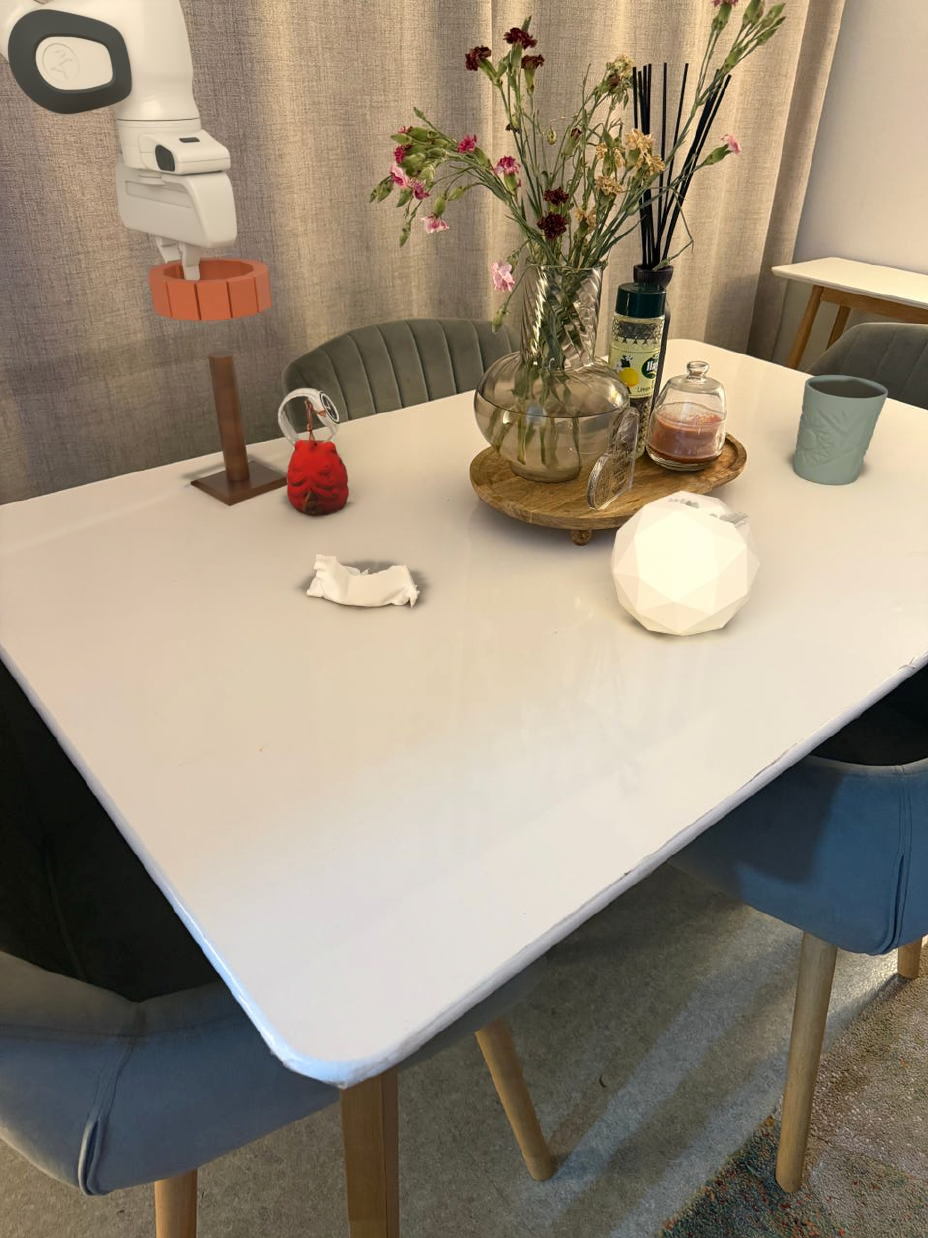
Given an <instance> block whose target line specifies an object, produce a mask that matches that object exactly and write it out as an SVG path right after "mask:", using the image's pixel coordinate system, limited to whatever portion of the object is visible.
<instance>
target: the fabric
mask: <svg viewBox="0 0 928 1238" xmlns="http://www.w3.org/2000/svg"><path fill="white" fill-rule="evenodd" d="M313 570H316V573H315V577H314V578H313V579H312V581H311V583H310V587H309V588H308V589H307V590H306V594H305V596H307V597H309V596H310V597H314V598H324V599H325V600H328V601H331V602H334V603H337V604H341V605H346V606H357V607H359V606H360V607H370V608H371V607H383V606H387V605H389V604H392V605H394V606H404V605H406V604H407V603H408V602H409V603H410V607H411V609H413V608H414V605H415V604H416V602H417V599H418V597H419V594H420V590H418V589H417V587H418V584H415V582H414V580H413V577H412V575H411V572H410V569H409V567H408V566H407V565H406V564H403V565H400V564H398V565H391V566H390V567H389V568H387V569H383V570H380V571H378V572H373V573H369V571H370V570H371V568H370V567H367V569H365V570H364V571H362V572H361V570H360V569H358V568H357V567H354V566H353V567H352V566H348V565H343V564H342V563H341V562H340V561H339V559H338V557H336V555H326V554H325V555H324V554H320V553H316V554H315V563H314V566H313Z"/></svg>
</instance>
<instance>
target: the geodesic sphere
mask: <svg viewBox="0 0 928 1238" xmlns="http://www.w3.org/2000/svg"><path fill="white" fill-rule="evenodd" d="M748 517H749V515H748V514H747V515H746V513H744V514H741V511H739V512H735V511H733V509H732V508H730V507H729V506H728V505H727V504H725V502H723V501H722V500H721V499H719V498H718V497H714V496H708V495H704V494H700V493H695V492H689V491H685V490H679V491H677V492H674V493H671V494H669V495H666V496H663V497H661V498H658V499H656V500H653V501H650V502H647V503H645V504H644V505H643V506H641V508H640V509H639V510H638V511H637V512H636V513H634V514H633V516H631V517H630V518H629V519H628V520H627V521H626V522H625V523H624V524H623V525H622V526H621V527H619V529H618V530H617V531H616V534H615V538H614V544H613V548H612V553H611V558H610V562H609V569H610V573H611V577H612V581H613V584H614V587H615V591H616V595H617V599H618V604H619V605H621V606H622V608H624V609H625V610H626V611H627V612H628V614H630V615H631V616H633V618H635V619H636V620H637V621H638V622H639V623H640V624H641V626H643V627H644V628H645V629H646V630H648V631H650V632H651V631H652V632H657V633H663V634H669V635H675V636H680V637H687V636H692V635H697V634H701V633H705V632H709V631H713V630H719V629H722V628H723V627H724V626H725V625H727V623H728V622H729V621H730V620H731V619H732V618H733V617H734V616H735V615H736V614H737V613H738V612H739V610H740V609H742V607H743V606H744V605H745V604H746V603H747V601H749V600H750V597H751V594H752V591H753V588H754V586H755V582H756V580H757V576H758V573H759V570H760V567H761V560H760V557H759V553H758V550H757V547H756V543H755V540H754V536H753V533H752V530H751V525H750V524H749V523H748V522H747V521H745V519H747V518H748Z"/></svg>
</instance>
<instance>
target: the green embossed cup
mask: <svg viewBox="0 0 928 1238" xmlns="http://www.w3.org/2000/svg"><path fill="white" fill-rule="evenodd" d="M888 393H889V390H888V388H887V387H885V386H884V385H882V384H880V383H878V382H876V381H873V380H869V379H866V378H861V377H856V376H852V375H842V374H823V375H816V376H812V377H809V378H808V379H806V380H805V382H804V389H803V395H802V405H801V414H800V417H799V423H798V430H797V436H796V443H795V450H794V455H793V461H792V469H793V472H794V473H795V474H796V475H797V476H798V477H800V478H802V479H804V480H807V481H809V482H812V483H816V484H821V485H830V486H842V485H843V486H844V485H849V484H852V483H854V482H856V480H858V477H859V476H860V473H861V470H862V467H863V464H864V457H865V456H866V455H867V452H868V450H869V447H870V443H871V441H872V439H873V436H874V432H875V431H874V430H875V429H876V425H877V422H878V421H879V416H880V415H881V414H882V413H881V412H882V411H883V408H884V405H885V403H886V400H887V397H888V395H889V394H888Z"/></svg>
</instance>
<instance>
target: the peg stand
mask: <svg viewBox="0 0 928 1238" xmlns="http://www.w3.org/2000/svg"><path fill="white" fill-rule="evenodd" d="M207 358H208V364H209V371H210V379H211V385H212V390H213V398H214V404H215V412H216V417H217V424H218V430H219V431H218V432H219V438H220V445H221V451H222V458H223V463H224V470H221V471H218V472H215V473H213V474H209V475H206V476H204V477H200V478H197V479H194V480H192V481H190V485H191V486H192V487H194V488H195V489H198V490H200V491H202V492H204V494H207V495H209V496H210V497H213V498H215V499H216V500H218V501H220V502H222V503H224V504H225V505H227V506H229V507H230V506H233V505H236V504H238V503H241V502H243V501H246V500H249V499H252V498H255V497H257V496H261V495H263V494H266V493H268V492H271V491H274V490H277V489H280V488H282V487H286V486H287V485H288V481H287V475H284V474H282V473H280V472H278V471H277V470H274V469H272V468H270V467H268V466H266V465H264V464H261V463H260V462H258V461H256V460H252V461H249V459H248V452H247V451H248V450H247V444H246V437H245V429H244V422H243V415H242V407H241V399H240V391H239V385H238V377H237V370H236V363H235V362H236V361H235V355H234V352H233V351H230V350H223V349H221V350H214V351H211V352H208V354H207Z"/></svg>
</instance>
